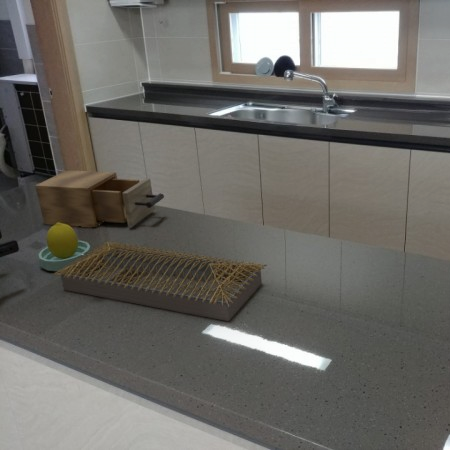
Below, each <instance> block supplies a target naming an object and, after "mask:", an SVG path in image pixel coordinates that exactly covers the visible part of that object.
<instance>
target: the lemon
mask: <svg viewBox="0 0 450 450" xmlns="http://www.w3.org/2000/svg"><path fill="white" fill-rule="evenodd" d="M78 240H79V239H78V236H77V234H76V231H75V230H74V227H73V226H69V225H67V224H62V223H60V222H58V223H56V225H51V227H50V228H49V230H47V234H46V245H47V246H46V247H48V248H49V250H50V252H51V253H52V254H53V255H54V256H55V257H57V258H63V259H67V258H70V257H71V256H72V255H74V254H75V252H76V251H77V248H78Z"/></svg>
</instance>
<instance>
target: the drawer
mask: <svg viewBox="0 0 450 450" xmlns="http://www.w3.org/2000/svg"><path fill="white" fill-rule="evenodd" d="M151 181H152V180H151V178H148V177H146V178H144V179H142V180H140V179H132V178H117V179H113V178H111V179H110V180H108V181H106V182H104V183H103V184H101V185H99V186H97V187H95V188H94V189H92V190H90V191H91V196H92V201H93V206H94V211H95V216H96V221H105V222H106V223H120V224H124V223H126V222H127V226H128V227H133V226H134V225H136V224H137V223H139V222H140V221H141V220H143V219H144V218H145V217H146V216H148V215H149V214H150V213H152V212H153V211H154V210H155V209H156V208H155V205H156V204H158V203H159V202H160V201H162V200H163V199H164V198H165V195H164V194H163V193H162V192H159V193H158V194H153V187H152V182H151ZM105 222H104V223H105Z"/></svg>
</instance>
